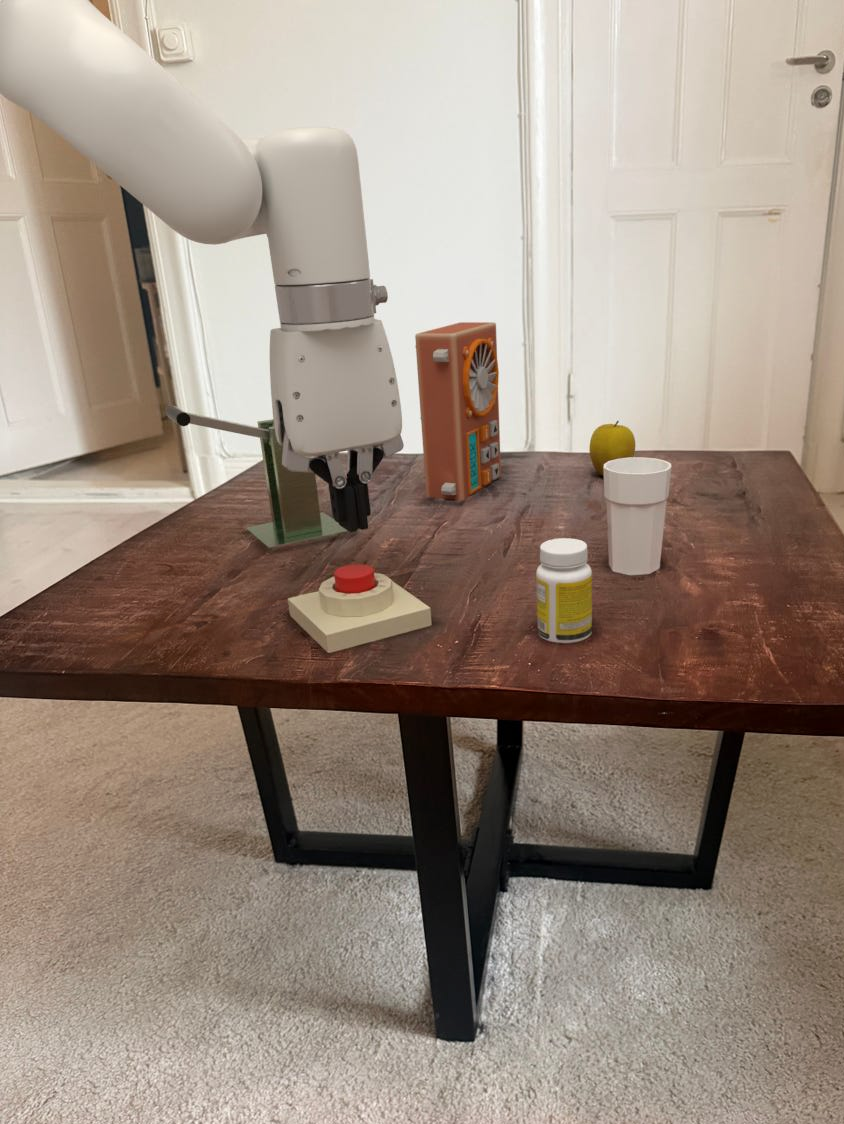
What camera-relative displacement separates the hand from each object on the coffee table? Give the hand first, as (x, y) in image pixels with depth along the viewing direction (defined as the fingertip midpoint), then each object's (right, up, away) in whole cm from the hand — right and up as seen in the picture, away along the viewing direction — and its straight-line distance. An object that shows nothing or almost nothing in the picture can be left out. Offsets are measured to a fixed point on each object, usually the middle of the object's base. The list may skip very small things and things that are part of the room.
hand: (353, 526), depth 79 cm
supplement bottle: (+19, -10, 0) cm, 21 cm away
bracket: (-10, +2, +28) cm, 30 cm away
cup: (+27, -3, +14) cm, 30 cm away
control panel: (+9, +10, +42) cm, 44 cm away
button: (0, -5, +2) cm, 6 cm away
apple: (+30, +13, +47) cm, 57 cm away
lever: (-16, +12, +20) cm, 28 cm away
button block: (0, -9, +4) cm, 10 cm away
